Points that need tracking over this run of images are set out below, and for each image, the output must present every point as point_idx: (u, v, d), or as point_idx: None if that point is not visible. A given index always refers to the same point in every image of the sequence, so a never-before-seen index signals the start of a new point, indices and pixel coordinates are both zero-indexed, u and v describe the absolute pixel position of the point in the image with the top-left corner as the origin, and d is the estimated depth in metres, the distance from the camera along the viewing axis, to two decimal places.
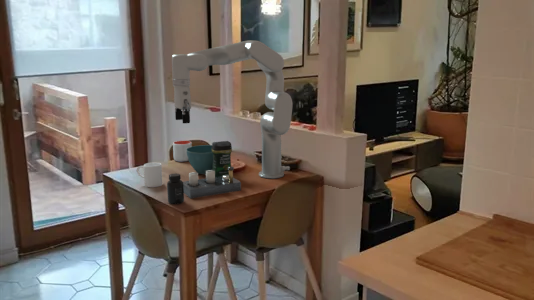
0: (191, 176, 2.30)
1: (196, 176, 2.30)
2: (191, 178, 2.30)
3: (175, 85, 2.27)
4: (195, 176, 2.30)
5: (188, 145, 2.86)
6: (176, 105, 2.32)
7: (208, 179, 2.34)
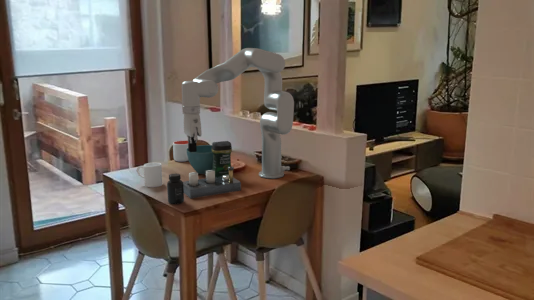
0: (191, 176, 2.30)
1: (196, 176, 2.30)
2: (191, 178, 2.30)
3: (185, 113, 2.22)
4: (195, 176, 2.30)
5: None
6: (186, 132, 2.27)
7: (208, 179, 2.34)
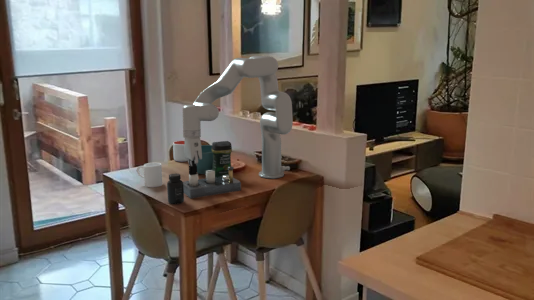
0: (191, 177, 2.30)
1: (196, 177, 2.30)
2: (191, 179, 2.30)
3: (186, 136, 2.24)
4: (195, 177, 2.30)
5: None
6: (186, 155, 2.30)
7: (208, 179, 2.34)
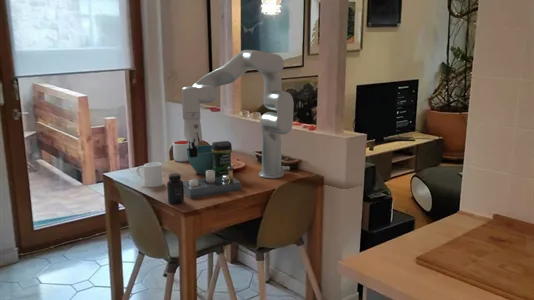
0: (191, 183, 2.31)
1: (196, 183, 2.31)
2: (191, 185, 2.31)
3: (185, 118, 2.23)
4: (195, 183, 2.31)
5: None
6: (186, 138, 2.28)
7: (208, 179, 2.34)
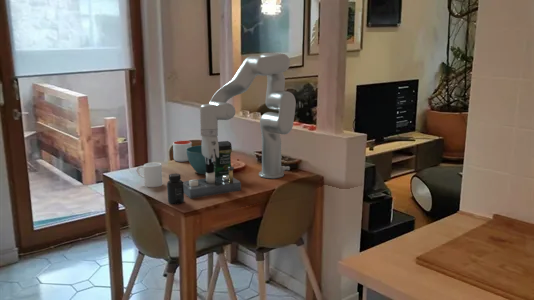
0: (191, 183, 2.31)
1: (196, 183, 2.31)
2: (191, 185, 2.31)
3: (203, 135, 2.28)
4: (195, 183, 2.31)
5: (188, 145, 2.86)
6: (203, 154, 2.33)
7: (208, 180, 2.34)
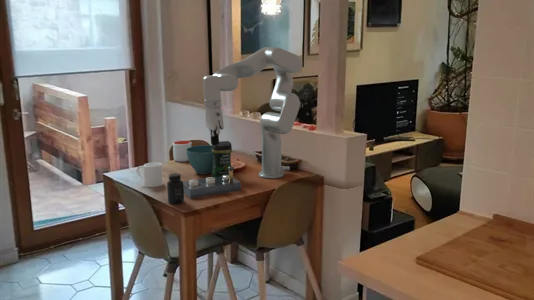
0: (191, 183, 2.31)
1: (196, 183, 2.31)
2: (191, 185, 2.31)
3: (207, 107, 2.28)
4: (195, 183, 2.31)
5: (188, 145, 2.86)
6: (208, 126, 2.33)
7: None
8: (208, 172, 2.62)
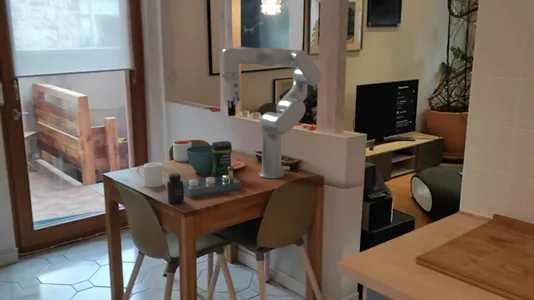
0: (191, 183, 2.31)
1: (196, 183, 2.31)
2: (191, 185, 2.31)
3: (226, 78, 2.35)
4: (195, 183, 2.31)
5: (188, 145, 2.86)
6: (225, 97, 2.40)
7: None
8: (208, 172, 2.62)
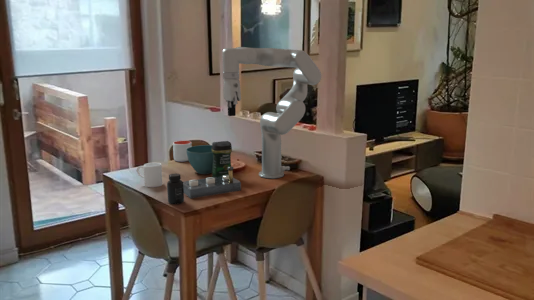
0: (191, 183, 2.31)
1: (196, 183, 2.31)
2: (191, 185, 2.31)
3: (226, 78, 2.35)
4: (195, 183, 2.31)
5: (188, 145, 2.86)
6: (225, 97, 2.40)
7: None
8: (208, 172, 2.62)
